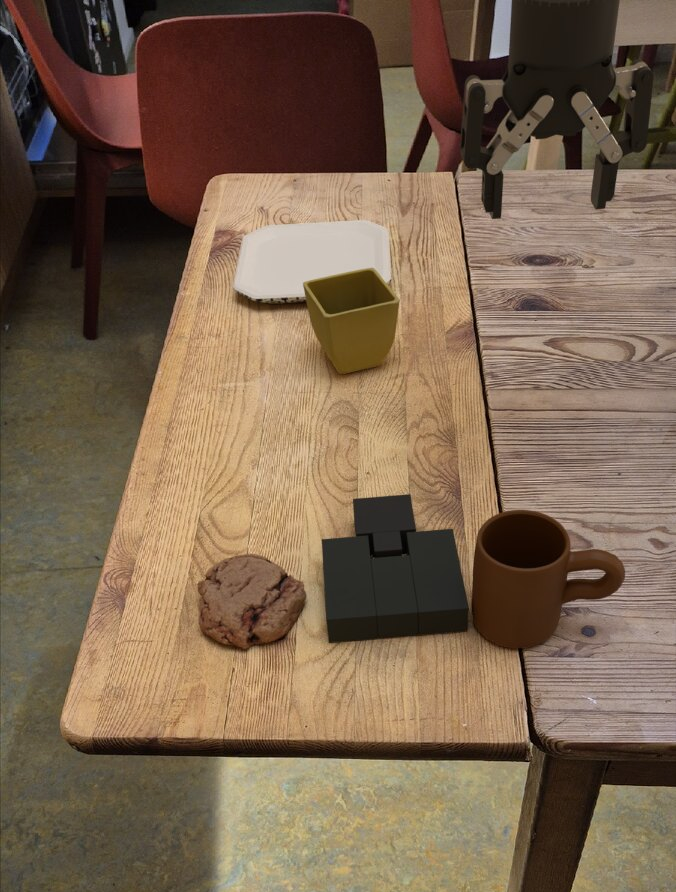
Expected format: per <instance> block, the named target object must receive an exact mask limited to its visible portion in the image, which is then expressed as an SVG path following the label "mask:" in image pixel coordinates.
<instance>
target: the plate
mask: <svg viewBox="0 0 676 892" xmlns="http://www.w3.org/2000/svg"><path fill="white" fill-rule="evenodd" d="M390 237H391V236H390V230H389V229H388V228H387V227H386V226H384V225H380V224H378V223H375V222H373V221H370V220H368V219H354V220H337V221H319V222H302V223H300V222H299V223H284V224H283V223H281V224H267V225H264V226H262V227H259V228H257V229H256V230H253V231H251V232H249V233H248V234H245V235H244V236H243V237H242V238H241V242H240V247H239V253H238V258H237V264H236V268H235V273H234V279H233V283H232V290H233V291H234V292H235V293H236V294H239V295H241V296H242V297H245V298H246V299H249V300H251V301H253V302H258V303H259V302H260V303H264V304H270V305H274V304H276V305H277V304H278V305H279V304H295V303H307V302H306V297H305V292H304V287H303V282H306V281H310V280H314V279H319V278H323V277H328V276H332V275H337V274H341V273H346V272H351V271H356V270H361V269H366V268H374V269H375V270H376V271H377V272H378V273H379V274H380V276H381V277H382V278H383V280H384V281H385V282H386V283H387V285H388V286H389V284H390V283H391V282H392V266H391V265H392V264H391V262H392V261H391V240H390V239H391V238H390Z"/></svg>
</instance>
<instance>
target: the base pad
mask: <svg viewBox="0 0 676 892" xmlns="http://www.w3.org/2000/svg"><path fill="white" fill-rule="evenodd" d="M406 541H407V553H406V554H405V555H402V556H392V557H380V558H374V557H371V556H370V549H369V540H368V535H367V536H356V535H355V536H346V537H334V538H332V537H331V538H322V539H321V553H322V570H323V571H322V572H323V588H324V589H323V590H324V591H323V592H324V608H325V622H326V631H327V640H328V643H329V644H333V643H343V642H355V641H356V642H357V641H366V640H367V641H369V640H378V639H391V638H403V637H404V638H405V637H415V636H428V635H441V634H449V633H450V634H452V633H453V634H454V633H463V632H468V630H469V613H470V612H469V610H470V606H469V602H468V597H467V593H466V587H465V583H464V576H463V573H462V567H461V563H460V562H461V561H460V557H459V553H458V552H459V551H458V547H457V543H456V538H455V532H454V529H453V528H444V529H431V530H418V531H416V532H407V533H406Z"/></svg>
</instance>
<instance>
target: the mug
mask: <svg viewBox="0 0 676 892" xmlns="http://www.w3.org/2000/svg"><path fill="white" fill-rule="evenodd" d="M592 570H599V571H603V572H604V574H603V576H601V577H599V578H595V579H592V578H590V579H589V578H571V579H568V574H569V573H574V572H585V571H592ZM625 579H626V568H625V566H624V563H623V561H622V560H621V559H620V558H618V556H617V555H616V554H614V553H611V552H610V551H607V550H603V549H599V548H589V549H582V550H576V551H575V550H574V551H572V550H571V538H570V536H569V533H568V531H567V530H566V528H565V527H564V526H563V525H562V524H561V522H559V521H558V520H557V519H555V518H554V517H552V516H550V515H548V514H545V513H542V512H539V511H535V510H530V509H511V510H505V511H502V512H499V513H497V514H495V515H492V516H491V517H490V518H488V519H487V520H486V521H485V522H484V523H483V524H482V525H481V526H480V528H479V530H478V531H477V535H476V540H475V547H474V552H473V568H472V582H471V583H472V584H471V586H472V587H471V617H472V621H473V624H474V626H475V628H476V629H477V631H478V632H479V633H480V634H481V635H482V636H483V637H484V638H485V639H487V641H489V642H491V643H492V644H495V645H498V646H500V647H504V648H508V649H509V648H510V649H528V648H532V647H536V646H538V645H540V644H542V643H544V642H545V641H547V640H548V639H549V638H550V637H552V635H553V634H554V633H555V632H556V630H557V628H558V626H559V623H560V619H561V615H562V611H563V605H565V604H567V603H570V602H575V601H579V600H584V601H595V600H596V601H597V600H602V599H606V598H608V597H610V596H612V595H613V594H615V593H616V592H618V590H619V589H620V588H621V587H622V585H623V583H624V581H625Z"/></svg>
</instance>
